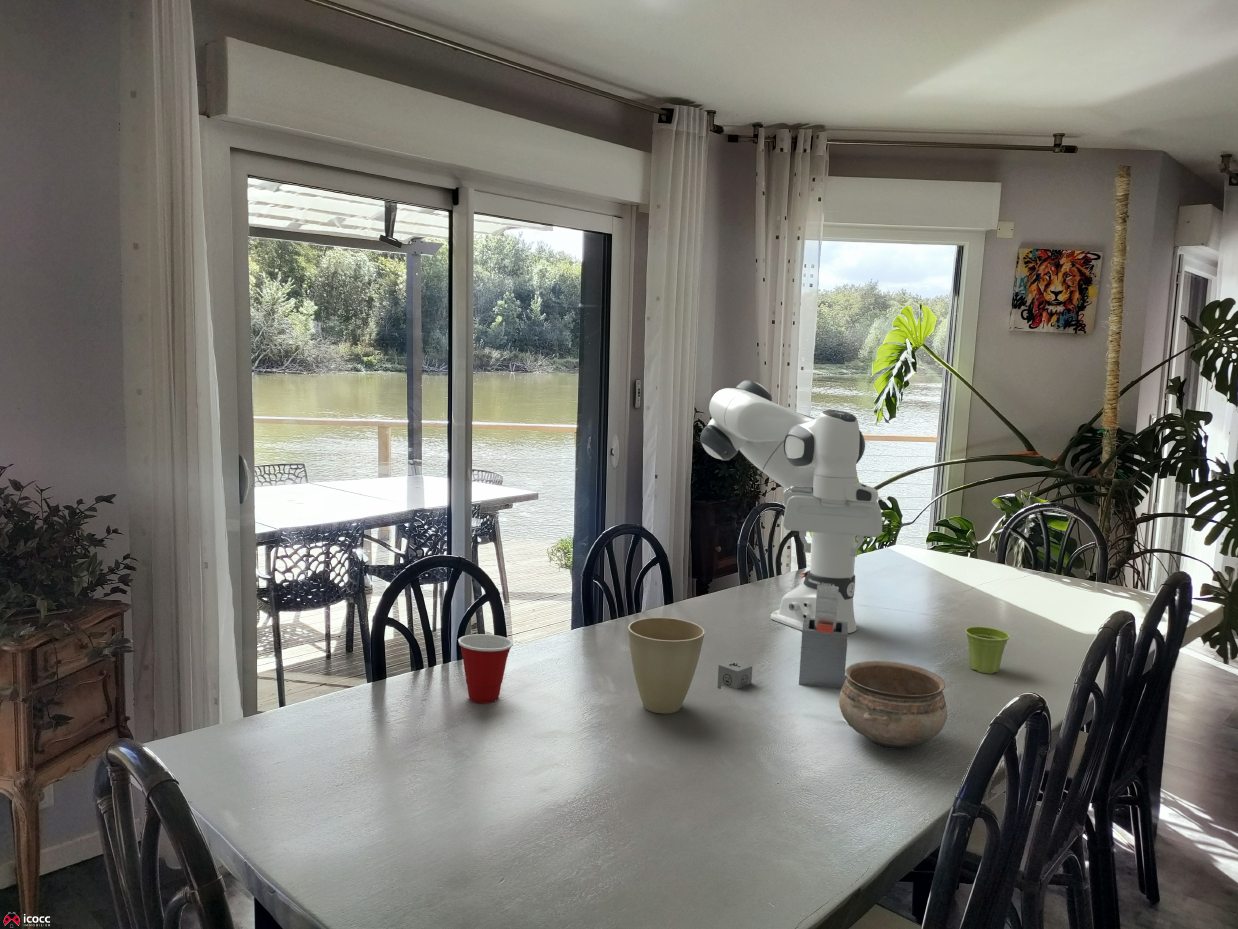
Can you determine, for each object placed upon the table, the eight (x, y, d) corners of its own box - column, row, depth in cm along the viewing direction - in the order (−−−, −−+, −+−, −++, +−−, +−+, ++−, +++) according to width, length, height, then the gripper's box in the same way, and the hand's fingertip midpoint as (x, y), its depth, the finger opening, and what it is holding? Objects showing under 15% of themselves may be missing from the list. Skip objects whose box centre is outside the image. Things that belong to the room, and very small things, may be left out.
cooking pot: (925, 782, 150) (931, 711, 149) (816, 752, 160) (820, 685, 159) (957, 731, 171) (963, 669, 170) (859, 707, 181) (863, 648, 180)
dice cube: (732, 682, 193) (733, 659, 192) (751, 689, 189) (752, 666, 189) (717, 687, 189) (718, 664, 189) (736, 694, 186) (737, 671, 185)
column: (810, 683, 191) (816, 590, 188) (811, 674, 196) (817, 584, 193) (832, 685, 189) (838, 592, 187) (832, 677, 195) (838, 586, 192)
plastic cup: (523, 698, 180) (524, 640, 178) (481, 713, 172) (482, 652, 170) (488, 683, 187) (489, 627, 185) (445, 697, 179) (446, 638, 177)
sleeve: (780, 693, 187) (785, 626, 185) (785, 668, 203) (789, 605, 201) (860, 703, 183) (865, 634, 182) (859, 676, 199) (863, 613, 197)
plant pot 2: (1010, 678, 201) (1014, 641, 200) (965, 674, 203) (969, 636, 202) (1001, 664, 210) (1004, 628, 209) (958, 660, 212) (962, 624, 211)
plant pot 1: (648, 727, 168) (651, 644, 166) (612, 698, 181) (614, 621, 179) (715, 714, 175) (719, 635, 173) (675, 688, 188) (679, 614, 186)
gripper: (782, 487, 187) (778, 552, 189) (885, 494, 182) (880, 561, 184) (784, 483, 193) (781, 546, 195) (884, 490, 188) (879, 555, 190)
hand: (830, 554), depth 189 cm, fingers open, 8 cm apart
